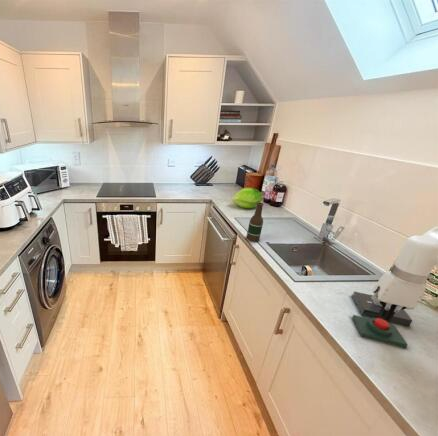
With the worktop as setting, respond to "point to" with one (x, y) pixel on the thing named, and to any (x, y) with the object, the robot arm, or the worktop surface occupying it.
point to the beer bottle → (255, 224)
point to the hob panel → (378, 309)
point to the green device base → (378, 331)
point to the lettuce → (247, 198)
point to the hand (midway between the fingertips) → (384, 317)
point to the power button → (381, 323)
